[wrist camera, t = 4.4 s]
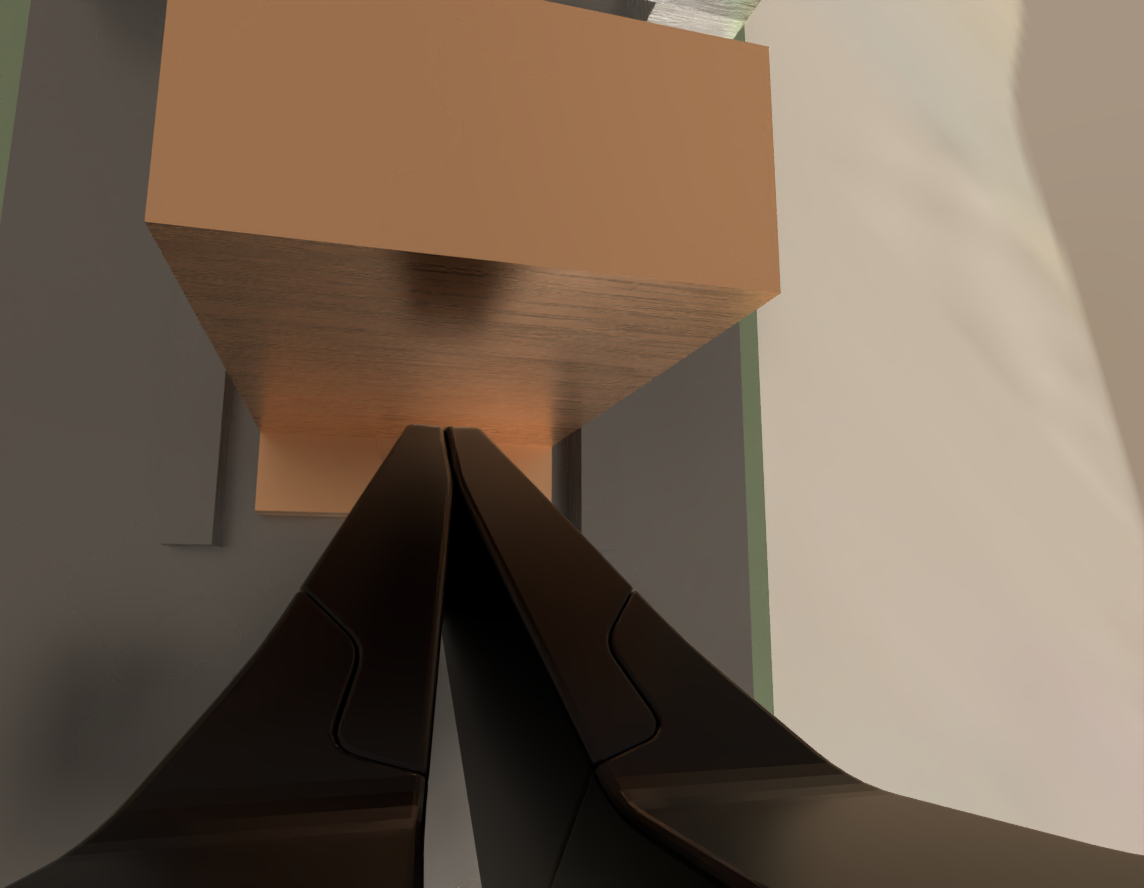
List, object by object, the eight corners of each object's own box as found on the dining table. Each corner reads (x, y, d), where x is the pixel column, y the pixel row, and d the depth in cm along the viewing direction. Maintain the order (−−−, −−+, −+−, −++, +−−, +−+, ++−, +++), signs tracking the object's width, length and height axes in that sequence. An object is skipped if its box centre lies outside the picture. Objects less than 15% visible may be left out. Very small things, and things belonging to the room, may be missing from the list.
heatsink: (772, 965, 16) (931, 1107, 12) (-151, 1100, 12) (-437, 1398, 8) (730, -70, 21) (834, -248, 16) (42, -241, 17) (-68, -542, 12)
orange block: (538, 521, 15) (786, 440, 7) (261, 515, 14) (126, 403, 5) (541, 140, 17) (750, -330, 8) (290, 101, 15) (220, -513, 7)
